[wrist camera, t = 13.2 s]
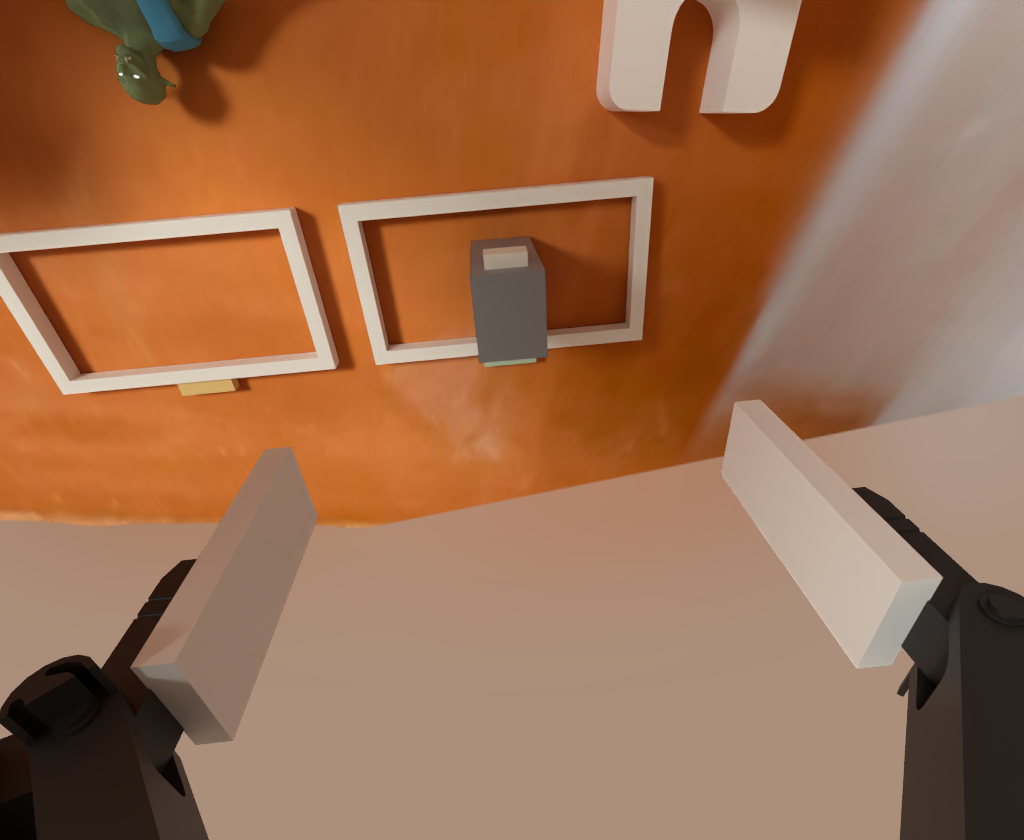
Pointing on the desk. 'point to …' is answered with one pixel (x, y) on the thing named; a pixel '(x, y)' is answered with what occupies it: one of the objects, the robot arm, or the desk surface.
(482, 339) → the plug
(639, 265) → the socket
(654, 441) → the desk surface
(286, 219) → the socket
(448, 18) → the desk surface
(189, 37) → the figurine
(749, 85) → the white slotted bracket
